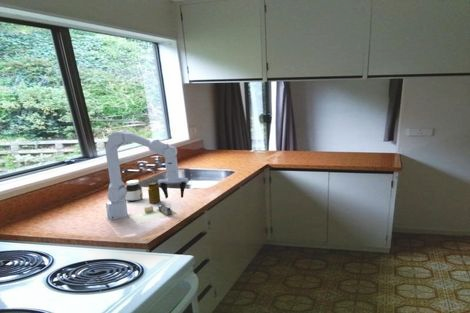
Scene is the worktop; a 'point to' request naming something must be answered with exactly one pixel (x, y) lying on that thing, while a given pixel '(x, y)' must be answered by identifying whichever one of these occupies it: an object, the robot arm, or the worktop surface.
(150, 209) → the block
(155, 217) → the door board
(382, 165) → the worktop surface
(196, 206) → the worktop surface
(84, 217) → the worktop surface
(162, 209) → the latch bar
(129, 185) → the spread jar
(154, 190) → the condiment
